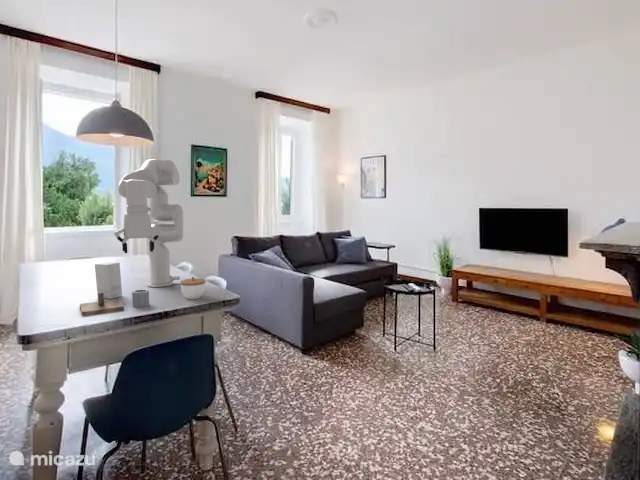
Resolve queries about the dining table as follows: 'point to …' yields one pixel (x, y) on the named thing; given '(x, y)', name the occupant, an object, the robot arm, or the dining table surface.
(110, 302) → the roll stand
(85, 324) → the dining table surface
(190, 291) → the lidded jar
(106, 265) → the skincare box
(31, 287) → the dining table surface
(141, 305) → the roll
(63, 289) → the dining table surface
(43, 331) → the dining table surface
